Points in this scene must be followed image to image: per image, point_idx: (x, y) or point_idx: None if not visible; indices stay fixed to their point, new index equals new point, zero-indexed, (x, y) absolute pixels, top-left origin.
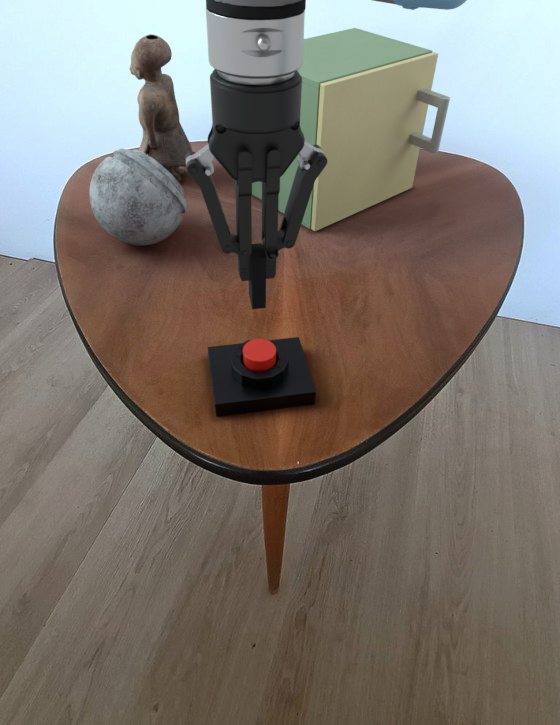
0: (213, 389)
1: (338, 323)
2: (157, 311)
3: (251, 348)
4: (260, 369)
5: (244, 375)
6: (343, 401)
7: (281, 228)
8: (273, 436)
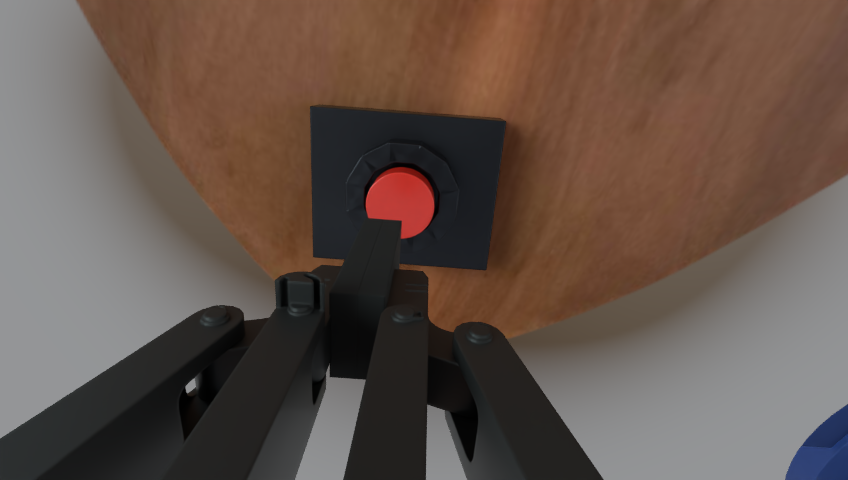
0: (313, 224)
1: (617, 54)
2: None
3: (384, 198)
4: None
5: None
6: (530, 262)
7: (459, 365)
8: None
